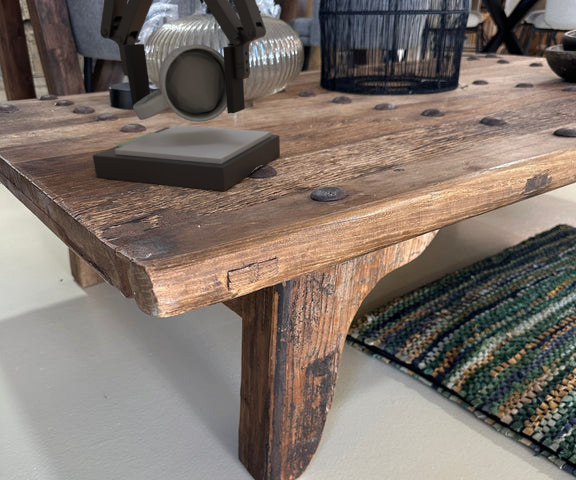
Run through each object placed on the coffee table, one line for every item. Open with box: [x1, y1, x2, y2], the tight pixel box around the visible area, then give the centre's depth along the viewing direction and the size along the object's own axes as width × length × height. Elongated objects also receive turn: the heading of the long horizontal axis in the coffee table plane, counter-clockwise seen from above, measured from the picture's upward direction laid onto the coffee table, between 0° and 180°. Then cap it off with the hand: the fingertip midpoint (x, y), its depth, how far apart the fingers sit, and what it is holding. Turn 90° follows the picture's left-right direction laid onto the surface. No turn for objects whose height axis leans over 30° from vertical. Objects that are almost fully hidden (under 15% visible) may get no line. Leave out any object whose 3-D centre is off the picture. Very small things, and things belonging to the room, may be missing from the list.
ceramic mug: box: [132, 43, 227, 123], centre depth 63 cm, size 11×8×8 cm
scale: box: [92, 124, 281, 192], centre depth 66 cm, size 16×15×3 cm
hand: (187, 108), depth 64 cm, fingers closed on ceramic mug, 11 cm apart
